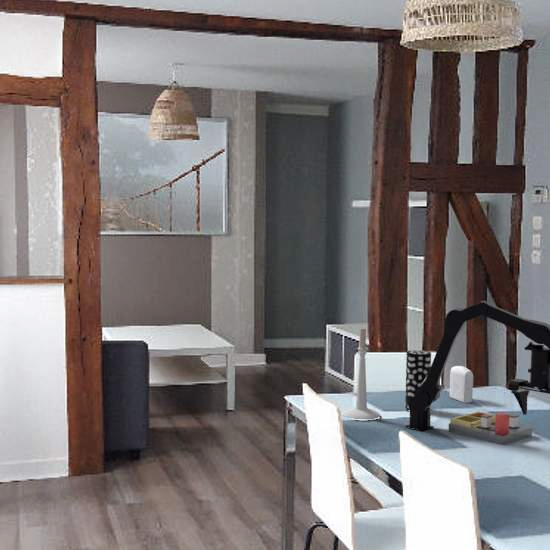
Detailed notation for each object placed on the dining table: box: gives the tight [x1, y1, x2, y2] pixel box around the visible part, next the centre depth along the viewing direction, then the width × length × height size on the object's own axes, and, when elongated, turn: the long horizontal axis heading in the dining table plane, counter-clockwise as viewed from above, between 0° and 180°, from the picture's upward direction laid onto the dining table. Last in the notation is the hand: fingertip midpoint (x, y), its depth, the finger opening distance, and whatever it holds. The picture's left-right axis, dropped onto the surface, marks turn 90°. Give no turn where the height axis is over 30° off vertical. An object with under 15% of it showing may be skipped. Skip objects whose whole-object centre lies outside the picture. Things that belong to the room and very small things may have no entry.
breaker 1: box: [481, 413, 493, 428], centre depth 254 cm, size 2×2×3 cm
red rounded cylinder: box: [495, 412, 510, 435], centre depth 247 cm, size 4×4×6 cm
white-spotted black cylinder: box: [404, 350, 432, 410], centre depth 287 cm, size 8×8×20 cm
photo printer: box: [449, 365, 474, 404], centre depth 304 cm, size 10×4×12 cm, turn 22°
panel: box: [448, 411, 533, 445], centre depth 257 cm, size 16×20×4 cm
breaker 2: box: [509, 413, 520, 427], centre depth 255 cm, size 2×2×3 cm
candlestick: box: [341, 327, 382, 419], centre depth 277 cm, size 13×13×30 cm
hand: (538, 417), depth 249 cm, fingers open, 9 cm apart
